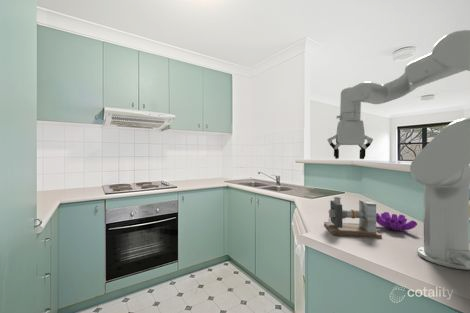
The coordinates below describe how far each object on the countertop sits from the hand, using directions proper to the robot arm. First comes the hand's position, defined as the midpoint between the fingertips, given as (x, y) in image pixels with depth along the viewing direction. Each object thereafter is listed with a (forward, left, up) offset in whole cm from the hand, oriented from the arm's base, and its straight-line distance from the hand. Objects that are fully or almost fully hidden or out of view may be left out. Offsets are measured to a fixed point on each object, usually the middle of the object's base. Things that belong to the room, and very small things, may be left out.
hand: (349, 158), depth 89 cm
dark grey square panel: (-1, +6, -27) cm, 28 cm away
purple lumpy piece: (+5, -18, -30) cm, 36 cm away
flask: (+21, -1, -30) cm, 36 cm away
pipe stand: (-1, 0, -30) cm, 30 cm away
